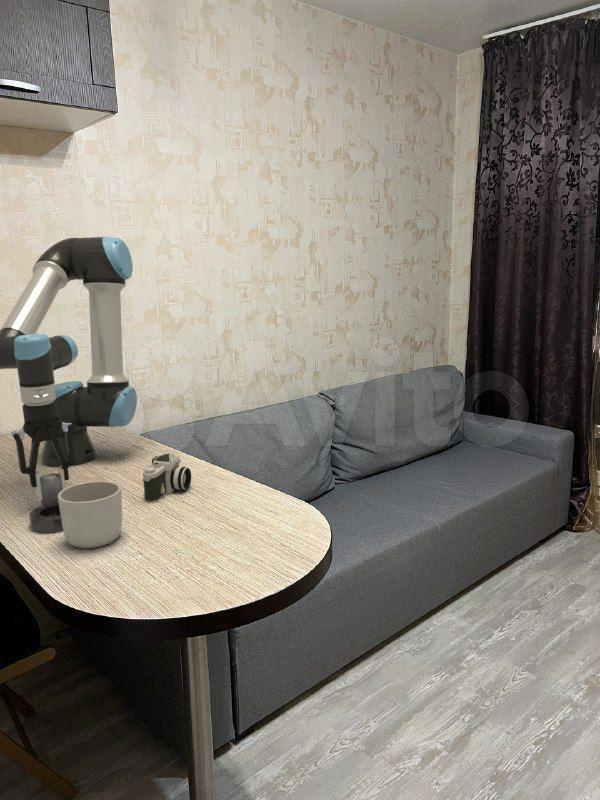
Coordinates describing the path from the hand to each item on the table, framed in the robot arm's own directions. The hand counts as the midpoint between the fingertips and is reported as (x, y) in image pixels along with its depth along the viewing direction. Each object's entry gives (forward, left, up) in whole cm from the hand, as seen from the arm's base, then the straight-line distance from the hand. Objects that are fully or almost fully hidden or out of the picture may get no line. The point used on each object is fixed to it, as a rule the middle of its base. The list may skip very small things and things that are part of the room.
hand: (51, 495), depth 149 cm
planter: (+25, +4, -3) cm, 25 cm away
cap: (0, 0, -1) cm, 1 cm away
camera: (+8, +27, -3) cm, 28 cm away
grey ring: (+12, -1, -3) cm, 12 cm away
